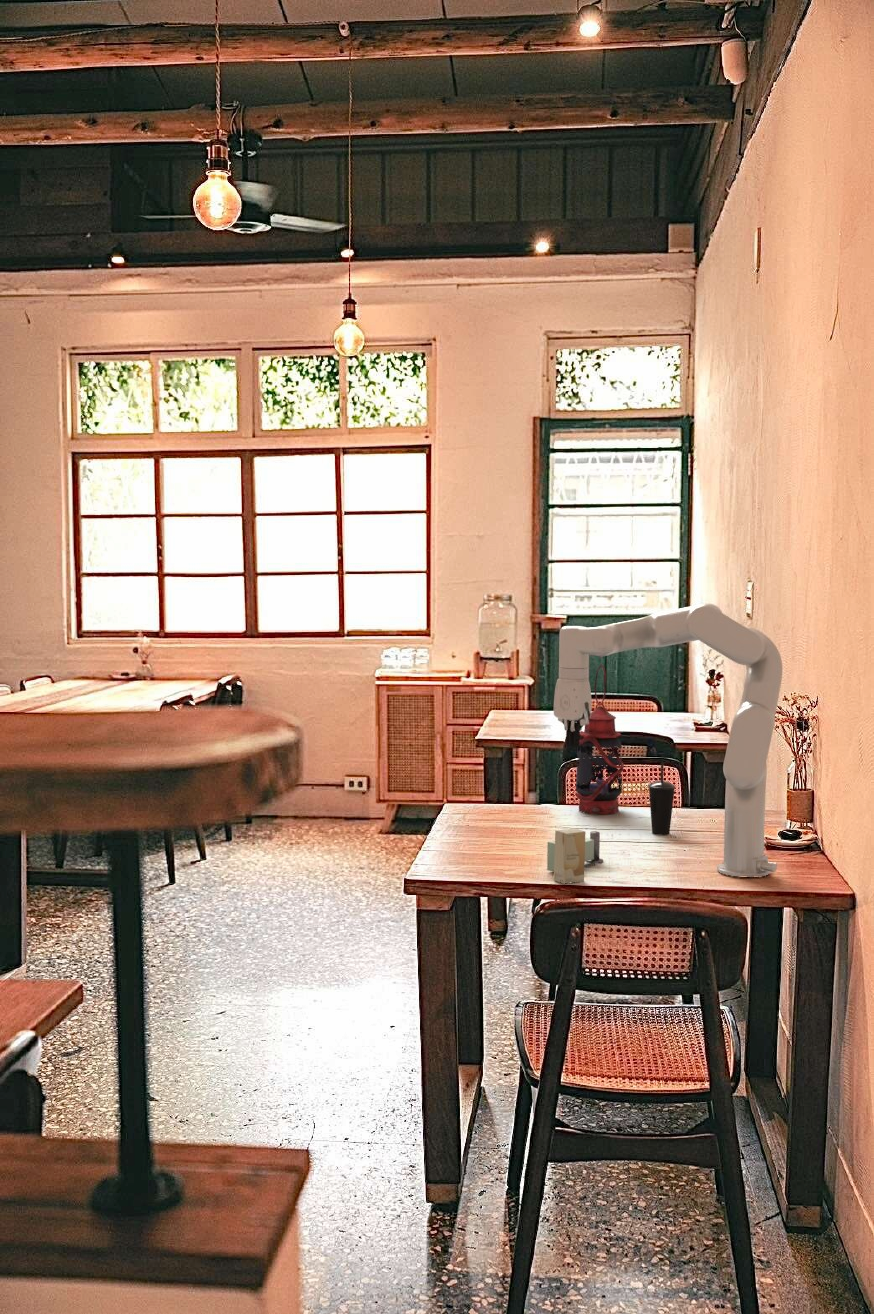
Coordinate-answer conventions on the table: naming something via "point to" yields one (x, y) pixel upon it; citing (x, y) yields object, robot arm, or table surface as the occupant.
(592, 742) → the lantern
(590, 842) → the gate
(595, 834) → the dark grey rounded knob
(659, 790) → the drinking cup
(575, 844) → the skincare box
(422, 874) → the table surface
